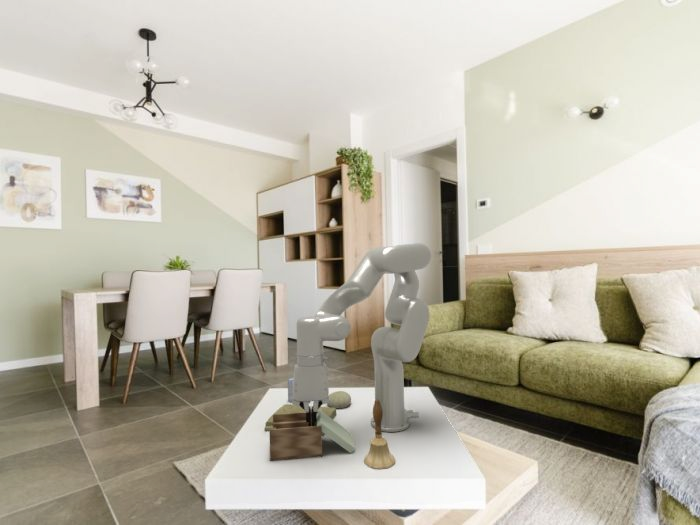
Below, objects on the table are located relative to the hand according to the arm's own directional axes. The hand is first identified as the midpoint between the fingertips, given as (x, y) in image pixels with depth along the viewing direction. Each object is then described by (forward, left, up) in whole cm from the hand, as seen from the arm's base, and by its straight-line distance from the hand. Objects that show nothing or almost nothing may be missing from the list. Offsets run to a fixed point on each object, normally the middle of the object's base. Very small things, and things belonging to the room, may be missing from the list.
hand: (311, 424), depth 105 cm
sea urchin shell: (-11, -32, -7) cm, 35 cm away
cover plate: (-6, 0, -3) cm, 7 cm away
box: (+4, 0, -7) cm, 8 cm away
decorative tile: (+3, -18, -8) cm, 20 cm away
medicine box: (+4, -38, -7) cm, 39 cm away
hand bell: (-18, +10, -7) cm, 22 cm away
